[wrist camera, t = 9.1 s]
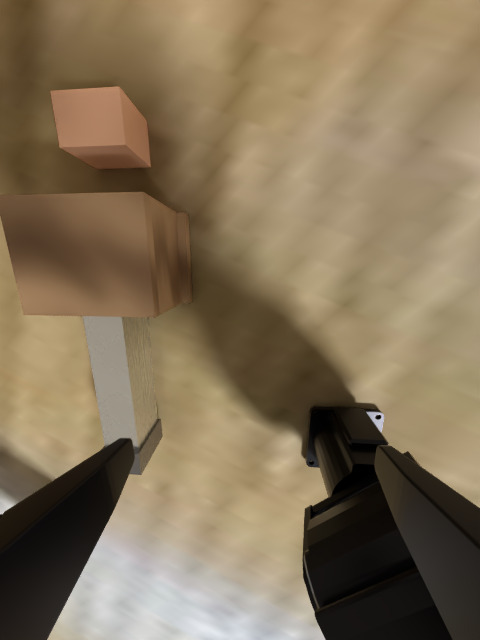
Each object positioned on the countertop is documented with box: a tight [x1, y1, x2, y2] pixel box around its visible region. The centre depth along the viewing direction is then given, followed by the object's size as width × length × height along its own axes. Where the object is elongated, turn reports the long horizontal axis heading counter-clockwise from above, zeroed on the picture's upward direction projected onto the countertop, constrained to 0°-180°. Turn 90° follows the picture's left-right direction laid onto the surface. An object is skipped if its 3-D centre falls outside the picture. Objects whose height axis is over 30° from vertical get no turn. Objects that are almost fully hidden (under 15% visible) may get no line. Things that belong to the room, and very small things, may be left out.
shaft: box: [83, 316, 162, 475], centre depth 18 cm, size 18×3×4 cm, turn 0°
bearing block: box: [0, 192, 193, 318], centre depth 17 cm, size 7×10×6 cm
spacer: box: [50, 86, 151, 169], centre depth 16 cm, size 4×4×3 cm
